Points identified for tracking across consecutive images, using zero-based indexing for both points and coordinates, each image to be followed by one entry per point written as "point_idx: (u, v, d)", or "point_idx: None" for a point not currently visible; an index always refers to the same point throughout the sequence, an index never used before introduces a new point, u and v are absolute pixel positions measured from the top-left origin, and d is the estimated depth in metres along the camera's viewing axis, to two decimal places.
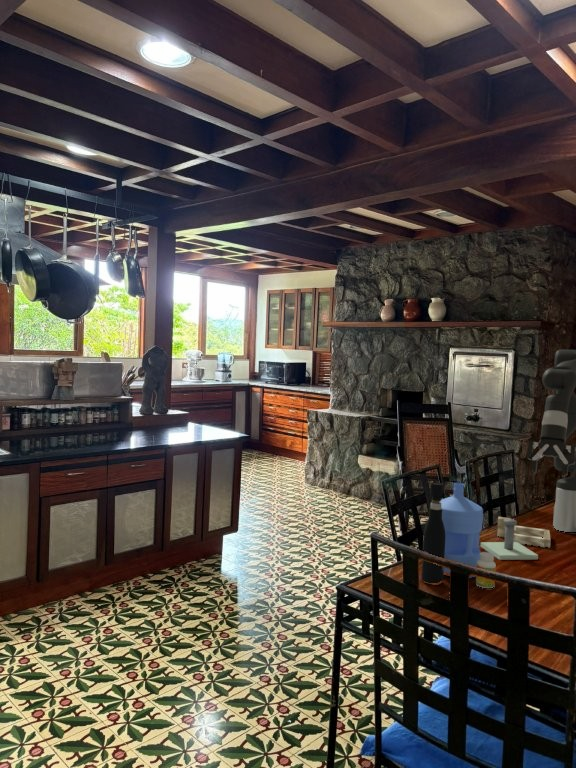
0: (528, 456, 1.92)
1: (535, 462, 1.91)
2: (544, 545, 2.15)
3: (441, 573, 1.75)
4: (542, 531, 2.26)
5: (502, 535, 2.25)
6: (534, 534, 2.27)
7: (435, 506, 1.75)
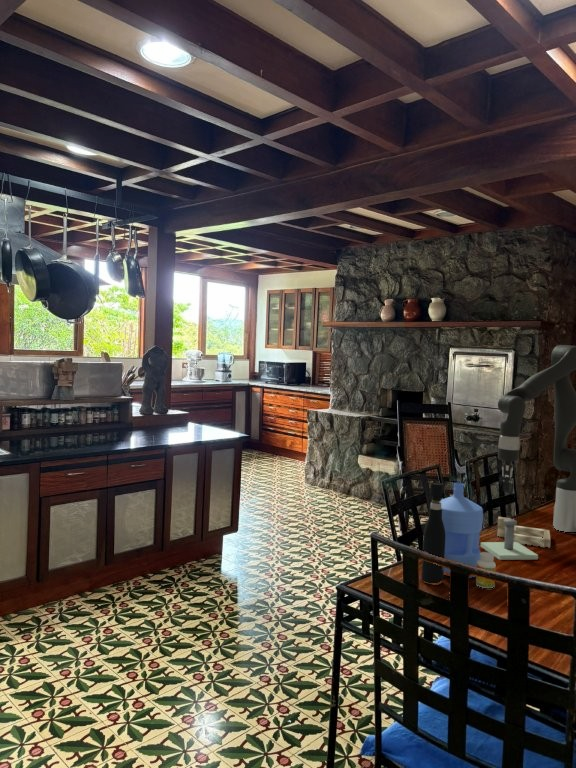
0: None
1: None
2: (544, 545, 2.15)
3: (441, 573, 1.75)
4: (542, 531, 2.26)
5: (502, 535, 2.25)
6: (534, 534, 2.27)
7: (435, 506, 1.75)
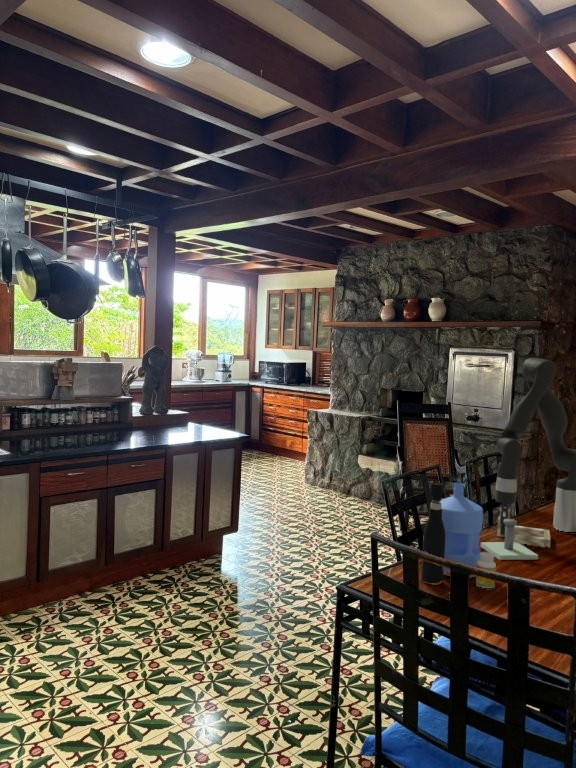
0: None
1: None
2: (544, 545, 2.15)
3: (441, 573, 1.75)
4: (542, 531, 2.26)
5: (502, 535, 2.25)
6: (534, 534, 2.27)
7: (435, 506, 1.75)
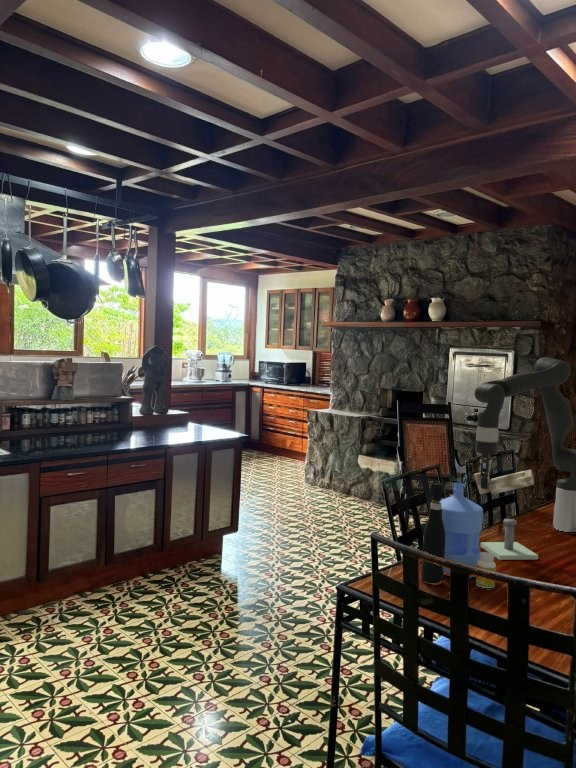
0: None
1: None
2: (527, 484, 1.98)
3: (441, 573, 1.75)
4: (524, 472, 2.09)
5: (484, 491, 2.08)
6: None
7: (435, 506, 1.75)
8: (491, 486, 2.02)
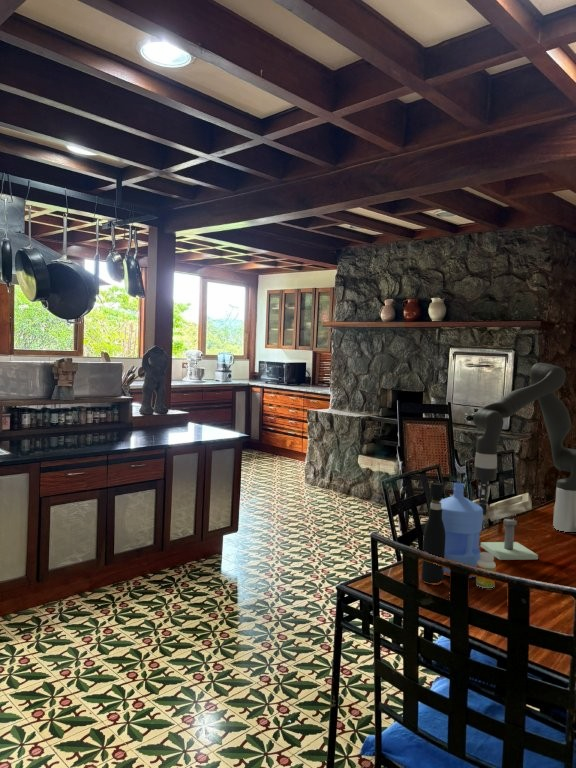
0: None
1: None
2: (525, 509, 1.98)
3: (441, 573, 1.75)
4: (521, 496, 2.10)
5: (483, 517, 2.08)
6: (515, 503, 2.10)
7: (435, 506, 1.75)
8: (489, 513, 2.02)
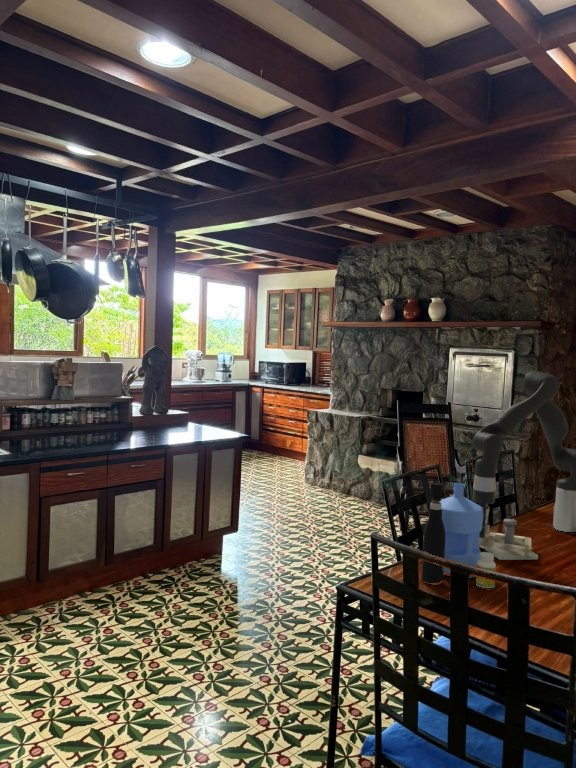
0: None
1: None
2: (524, 554, 1.99)
3: (441, 573, 1.75)
4: (523, 539, 2.10)
5: (480, 543, 2.09)
6: (515, 542, 2.11)
7: (435, 506, 1.75)
8: (489, 544, 2.03)
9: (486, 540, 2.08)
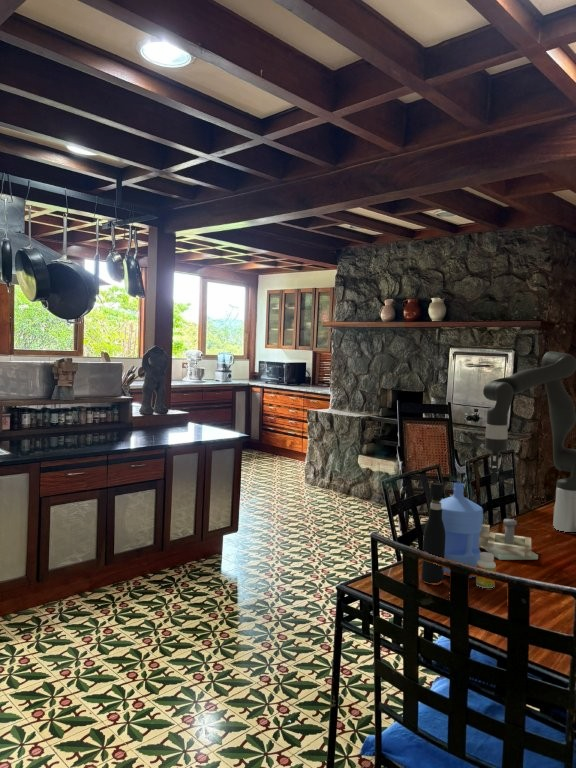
0: None
1: None
2: (524, 554, 1.99)
3: (441, 573, 1.75)
4: (523, 539, 2.10)
5: (480, 543, 2.09)
6: (515, 542, 2.11)
7: (435, 506, 1.75)
8: (489, 544, 2.03)
9: (486, 540, 2.08)
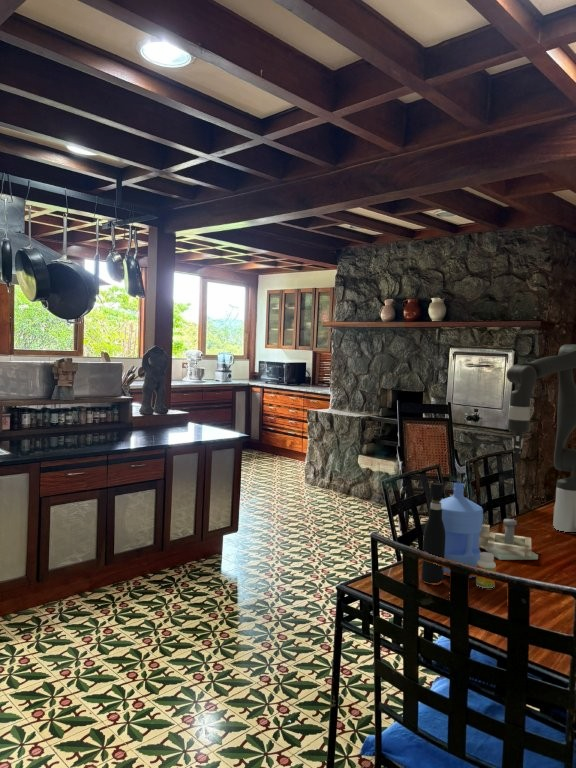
0: None
1: None
2: (524, 554, 1.99)
3: (441, 573, 1.75)
4: (523, 539, 2.10)
5: (480, 543, 2.09)
6: (515, 542, 2.11)
7: (435, 506, 1.75)
8: (489, 544, 2.03)
9: (486, 540, 2.08)
